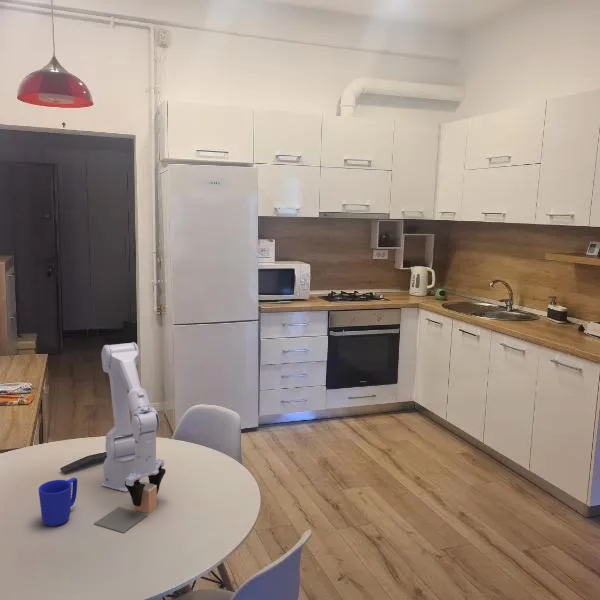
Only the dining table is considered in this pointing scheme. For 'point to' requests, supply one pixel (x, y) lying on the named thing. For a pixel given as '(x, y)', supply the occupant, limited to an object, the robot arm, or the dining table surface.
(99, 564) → the dining table surface
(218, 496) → the dining table surface
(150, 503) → the block
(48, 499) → the mug
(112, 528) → the mat
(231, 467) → the dining table surface
